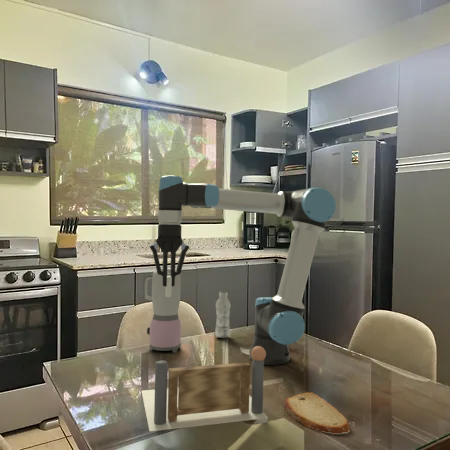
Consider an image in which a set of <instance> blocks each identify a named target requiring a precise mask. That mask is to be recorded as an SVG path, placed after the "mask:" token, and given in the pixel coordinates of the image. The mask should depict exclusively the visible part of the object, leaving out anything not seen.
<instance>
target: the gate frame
mask: <svg viewBox="0 0 450 450" xmlns="http://www.w3.org/2000/svg"><path fill="white" fill-rule="evenodd" d="M251 357H252V359H253V361H252V360H251V363H252V368H251V370H252V371H251V372H252V373H251V395H250V394H249V412H246V413H241V411H240V410H239V409H232V410H223V411H214V412H205V413H196V414H187V415H178V416H177V420H176V421H169V420H168V369H169V368H168V361H167V360H156V361H155V363H154V364H155V366H154V367H155V368H154V389H143V390H141V395H142V401H143V405H144V410H145V415H146V419H147V420H146V421H147V426H148V430H149V432H157V431H165V430H166V431H167V430H175V429H182V428H183V429H184V428H191V427H201V426H210V425H217V424H218V425H219V424H220V425H221V424H227V423H228V424H229V423H235V422H245V421H254V420H255V422H253V423H252V424H253V425H258V424H266V423H267V424H268V421H269V417H268V416H267V415H266V414H265V412H264V410H263V409H264V408H263V407H264V371H265V370H264V369H265V366H264V359H265V357H266V351H265V349H264V348H263V347H261V346H256V347H254V348H253V349H252V350H251ZM178 388H179V386H178ZM177 407H178V394H177Z"/></svg>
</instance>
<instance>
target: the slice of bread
mask: <svg viewBox="0 0 450 450" xmlns="http://www.w3.org/2000/svg"><path fill="white" fill-rule="evenodd" d="M283 409H284V410H285V412H286V414H288V416H289V417H291V418H292V419H293V420H294V421H296V422H298V423H300V424H301V425H303V426H304V427H307V428H309V429H311V428H312V429H311V430H314V431H316V430H317V432H319V431H325V432H331V433H342V432H348V431H349V429H350V430H351V428H350V424H349V422H348V419H347V418H346V417H345V416H344V415H343V413H341V412H340V410H338V409H337V408H336V407H334V406H333V405H332V404H330V403H329V402H328V401H326V400H325V399H323V398H322V397H321V396H319V395H318V394H316V393H314V392H309V391H308V392H302V393H299V394H298V393H297V394H295V395H292V396H291V397H285V400H284V401H283Z"/></svg>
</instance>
